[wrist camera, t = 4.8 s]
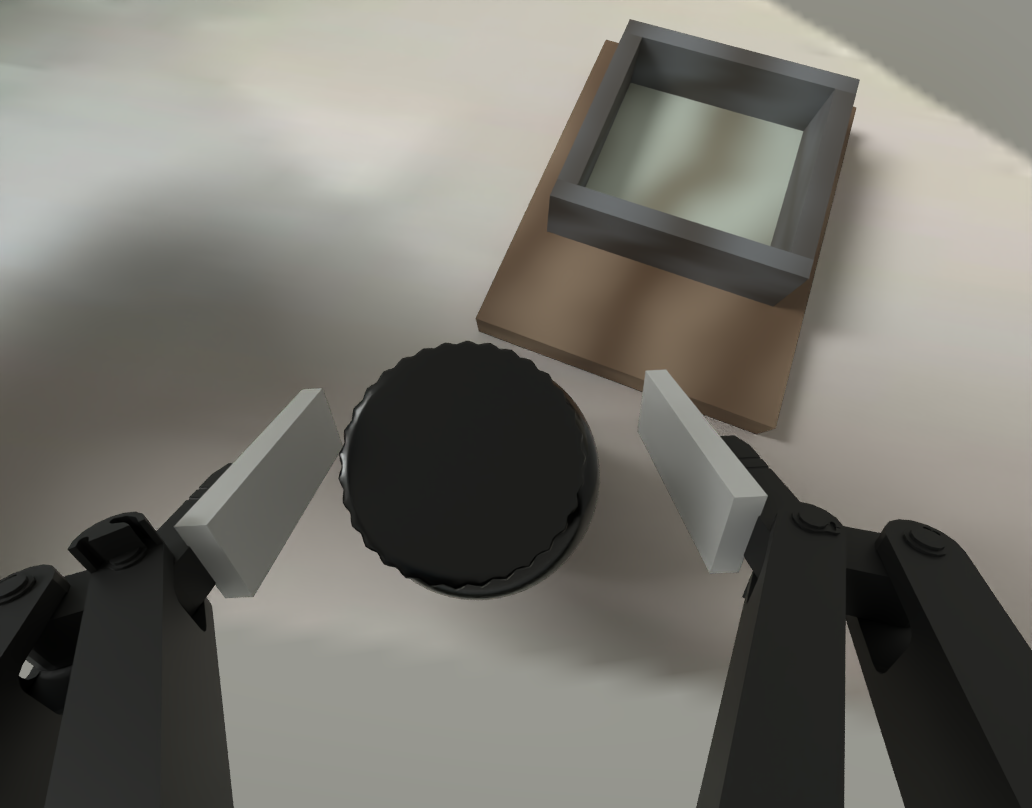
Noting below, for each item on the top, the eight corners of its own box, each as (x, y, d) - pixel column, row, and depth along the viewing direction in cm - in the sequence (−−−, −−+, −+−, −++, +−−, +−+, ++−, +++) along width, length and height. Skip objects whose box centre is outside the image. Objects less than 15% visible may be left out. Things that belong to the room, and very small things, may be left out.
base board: (478, 331, 21) (468, 292, 17) (601, 66, 25) (615, -13, 21) (756, 434, 19) (814, 416, 15) (835, 131, 24) (897, 59, 20)
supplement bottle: (432, 566, 18) (269, 683, 6) (422, 423, 20) (277, 313, 8) (578, 546, 18) (676, 626, 7) (556, 405, 20) (601, 271, 8)
